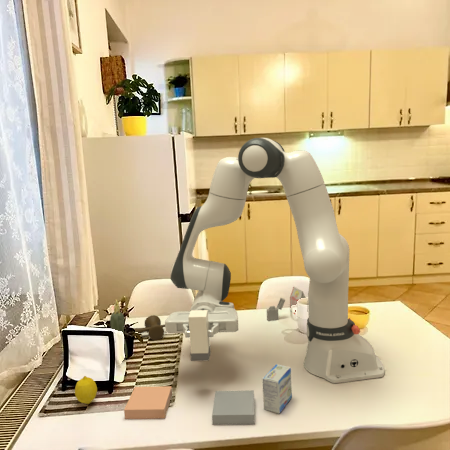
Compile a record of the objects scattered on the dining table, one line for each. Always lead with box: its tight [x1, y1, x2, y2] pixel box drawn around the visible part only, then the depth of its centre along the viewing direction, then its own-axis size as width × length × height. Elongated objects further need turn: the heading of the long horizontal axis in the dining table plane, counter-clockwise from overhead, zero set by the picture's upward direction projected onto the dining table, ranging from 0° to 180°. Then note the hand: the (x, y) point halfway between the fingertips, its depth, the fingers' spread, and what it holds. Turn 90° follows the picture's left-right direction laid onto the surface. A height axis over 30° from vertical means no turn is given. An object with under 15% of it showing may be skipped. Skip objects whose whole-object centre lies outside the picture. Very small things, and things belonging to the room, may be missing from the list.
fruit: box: [74, 375, 98, 405], centre depth 109 cm, size 6×6×8 cm
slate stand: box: [211, 389, 256, 426], centre depth 103 cm, size 10×10×2 cm
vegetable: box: [109, 298, 128, 357], centre depth 130 cm, size 4×4×20 cm
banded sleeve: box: [188, 310, 212, 362], centre depth 109 cm, size 5×5×12 cm
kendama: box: [132, 314, 165, 341], centre depth 148 cm, size 6×10×20 cm
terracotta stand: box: [123, 385, 173, 420], centre depth 107 cm, size 10×10×2 cm
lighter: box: [266, 297, 286, 322], centre depth 157 cm, size 7×2×8 cm, turn 105°
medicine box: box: [261, 363, 293, 415], centre depth 105 cm, size 8×4×9 cm, turn 148°
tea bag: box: [289, 286, 307, 312], centre depth 161 cm, size 4×7×10 cm, turn 21°
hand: (199, 334), depth 108 cm, fingers closed on banded sleeve, 4 cm apart
